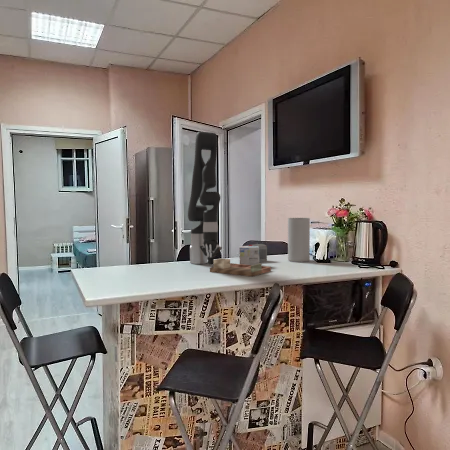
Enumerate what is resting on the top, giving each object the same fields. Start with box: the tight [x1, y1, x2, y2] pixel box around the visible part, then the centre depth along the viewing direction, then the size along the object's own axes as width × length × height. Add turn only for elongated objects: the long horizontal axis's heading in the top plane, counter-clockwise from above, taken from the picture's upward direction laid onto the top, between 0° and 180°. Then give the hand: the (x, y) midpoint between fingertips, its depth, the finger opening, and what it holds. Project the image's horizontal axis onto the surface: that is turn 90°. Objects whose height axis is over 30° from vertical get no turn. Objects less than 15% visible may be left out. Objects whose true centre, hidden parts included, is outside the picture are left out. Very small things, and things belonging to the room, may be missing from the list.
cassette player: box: [248, 243, 268, 262], centre depth 233 cm, size 16×3×10 cm, turn 113°
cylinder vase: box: [287, 217, 311, 263], centre depth 233 cm, size 12×12×25 cm
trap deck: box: [209, 262, 272, 277], centre depth 200 cm, size 25×18×5 cm
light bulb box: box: [238, 245, 260, 265], centre depth 217 cm, size 11×7×11 cm, turn 84°
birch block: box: [213, 258, 231, 269], centre depth 201 cm, size 6×6×4 cm
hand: (210, 264), depth 205 cm, fingers closed
